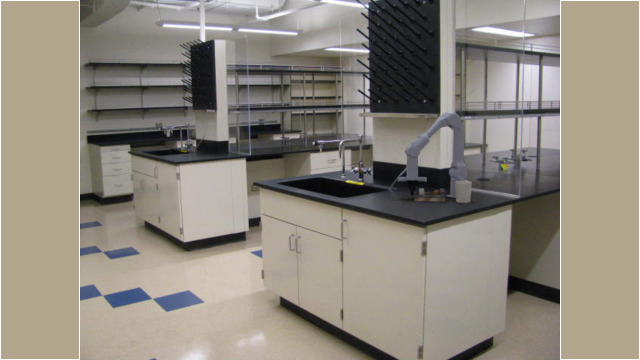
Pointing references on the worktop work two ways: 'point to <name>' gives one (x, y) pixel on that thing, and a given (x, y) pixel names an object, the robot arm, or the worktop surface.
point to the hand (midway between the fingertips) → (412, 195)
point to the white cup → (463, 191)
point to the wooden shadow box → (431, 196)
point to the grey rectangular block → (421, 191)
